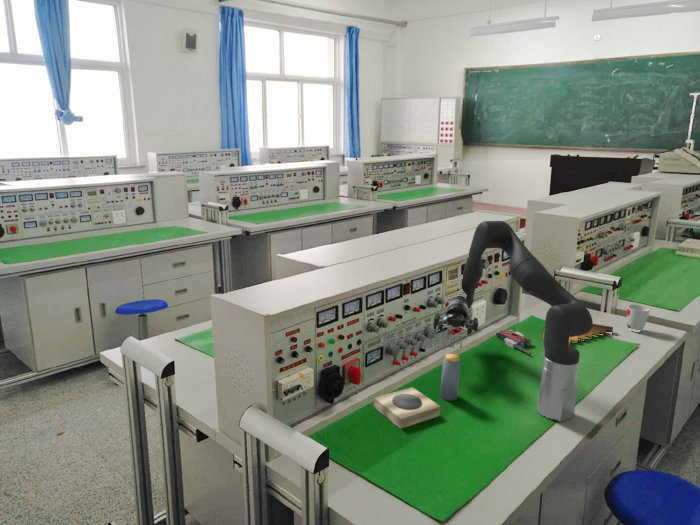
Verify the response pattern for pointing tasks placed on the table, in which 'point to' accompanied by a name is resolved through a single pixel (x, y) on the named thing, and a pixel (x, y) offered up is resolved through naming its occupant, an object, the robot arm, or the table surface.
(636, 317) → the cup
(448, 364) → the can
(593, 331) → the pan flute
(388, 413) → the display riser
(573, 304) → the robot arm
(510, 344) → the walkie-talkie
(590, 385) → the table surface
